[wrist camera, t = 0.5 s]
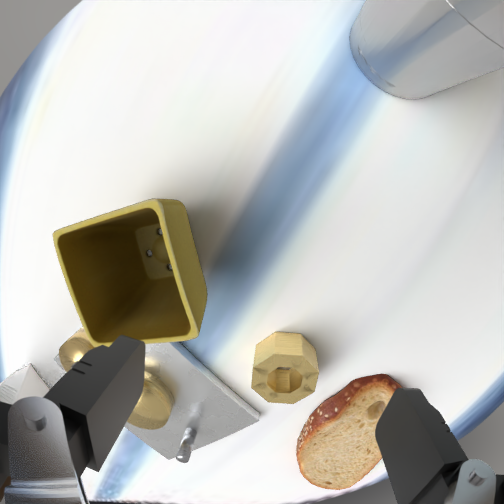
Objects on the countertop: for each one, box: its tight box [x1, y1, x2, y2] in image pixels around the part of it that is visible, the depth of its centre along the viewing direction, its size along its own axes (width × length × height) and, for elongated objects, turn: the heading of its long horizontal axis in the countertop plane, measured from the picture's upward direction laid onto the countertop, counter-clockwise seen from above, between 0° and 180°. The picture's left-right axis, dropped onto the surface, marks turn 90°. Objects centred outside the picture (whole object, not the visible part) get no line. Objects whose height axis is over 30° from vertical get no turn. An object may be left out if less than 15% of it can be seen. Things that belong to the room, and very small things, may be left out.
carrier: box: [54, 326, 260, 463], centre depth 28 cm, size 16×20×6 cm
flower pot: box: [53, 199, 207, 347], centre depth 22 cm, size 9×9×9 cm
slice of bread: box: [296, 374, 402, 490], centre depth 30 cm, size 18×18×4 cm
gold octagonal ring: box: [251, 332, 319, 404], centre depth 27 cm, size 6×6×4 cm
